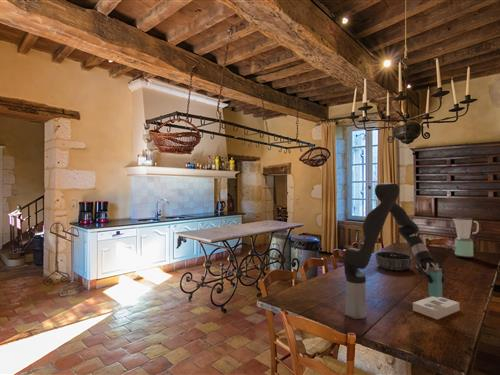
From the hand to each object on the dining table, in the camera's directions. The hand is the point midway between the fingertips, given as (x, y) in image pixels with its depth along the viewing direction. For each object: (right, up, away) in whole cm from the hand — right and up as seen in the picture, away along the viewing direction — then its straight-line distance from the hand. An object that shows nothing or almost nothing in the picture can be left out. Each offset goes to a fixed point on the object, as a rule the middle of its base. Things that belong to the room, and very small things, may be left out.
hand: (437, 282), depth 149 cm
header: (0, -15, +2) cm, 15 cm away
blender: (+93, -13, +108) cm, 144 cm away
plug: (0, -7, +2) cm, 7 cm away
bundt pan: (+17, -15, +80) cm, 83 cm away
